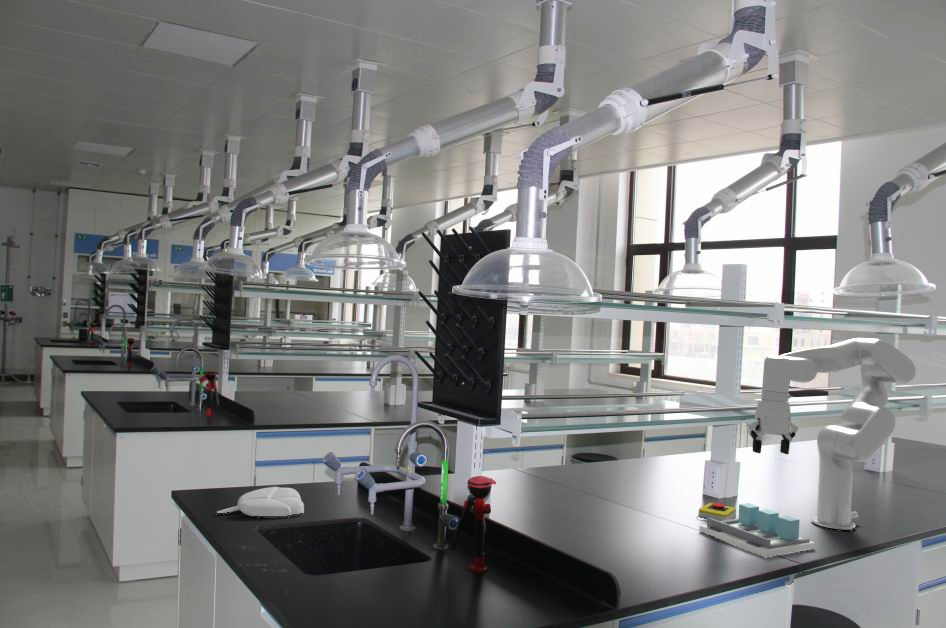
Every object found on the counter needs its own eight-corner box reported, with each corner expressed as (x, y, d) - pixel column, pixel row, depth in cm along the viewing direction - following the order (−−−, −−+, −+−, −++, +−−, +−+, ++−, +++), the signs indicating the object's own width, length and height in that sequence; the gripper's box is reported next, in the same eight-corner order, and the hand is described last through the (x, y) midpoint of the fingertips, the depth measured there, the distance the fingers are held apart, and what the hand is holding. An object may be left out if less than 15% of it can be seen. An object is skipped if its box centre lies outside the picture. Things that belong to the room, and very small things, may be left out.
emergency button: (738, 503, 236) (724, 512, 223) (738, 516, 236) (724, 526, 223) (710, 498, 241) (695, 506, 229) (709, 511, 241) (694, 520, 229)
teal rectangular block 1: (747, 521, 220) (748, 503, 220) (758, 524, 217) (759, 506, 217) (738, 522, 218) (739, 504, 218) (748, 526, 215) (749, 507, 215)
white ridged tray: (746, 525, 224) (746, 511, 224) (814, 549, 203) (815, 534, 203) (699, 532, 215) (699, 517, 215) (765, 558, 194) (766, 542, 194)
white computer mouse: (309, 516, 213) (220, 532, 202) (296, 502, 229) (213, 516, 218) (307, 494, 213) (219, 509, 202) (295, 482, 228) (212, 495, 217)
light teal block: (766, 527, 214) (767, 509, 214) (777, 531, 211) (778, 512, 211) (757, 529, 212) (758, 510, 212) (768, 533, 209) (769, 514, 209)
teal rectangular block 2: (786, 534, 208) (787, 515, 208) (798, 538, 204) (799, 519, 204) (777, 536, 206) (778, 517, 206) (789, 540, 203) (790, 521, 203)
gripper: (791, 397, 225) (787, 451, 225) (742, 394, 221) (738, 449, 221) (807, 400, 218) (803, 456, 218) (757, 397, 214) (753, 454, 214)
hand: (770, 452), depth 219 cm, fingers open, 9 cm apart
